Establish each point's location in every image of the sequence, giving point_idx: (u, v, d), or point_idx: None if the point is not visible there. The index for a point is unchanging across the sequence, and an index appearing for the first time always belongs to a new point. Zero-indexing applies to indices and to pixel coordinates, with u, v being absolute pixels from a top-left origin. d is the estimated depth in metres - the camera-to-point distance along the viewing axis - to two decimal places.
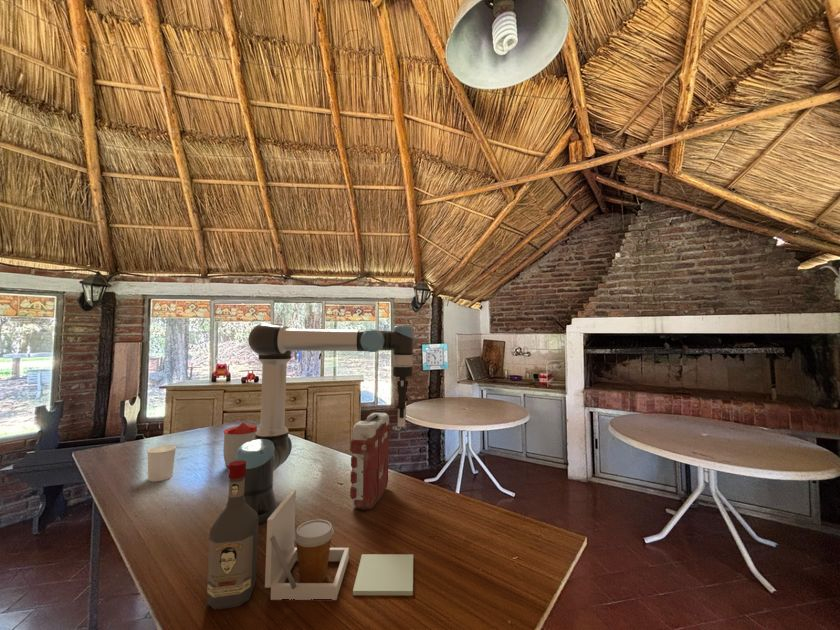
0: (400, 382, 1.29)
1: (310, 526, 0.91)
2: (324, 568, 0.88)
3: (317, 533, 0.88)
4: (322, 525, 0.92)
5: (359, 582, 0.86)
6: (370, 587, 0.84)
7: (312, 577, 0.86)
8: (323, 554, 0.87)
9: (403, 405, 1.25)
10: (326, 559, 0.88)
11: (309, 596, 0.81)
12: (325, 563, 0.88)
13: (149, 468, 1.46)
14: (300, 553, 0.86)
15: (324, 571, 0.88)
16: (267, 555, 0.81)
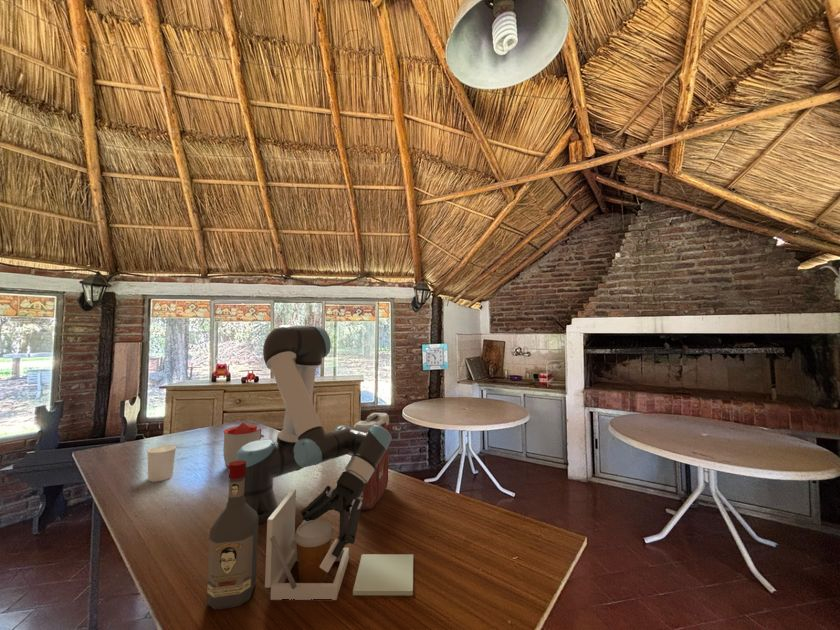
0: (359, 502, 0.92)
1: (310, 526, 0.91)
2: None
3: (317, 533, 0.88)
4: (322, 525, 0.92)
5: (359, 582, 0.86)
6: (370, 587, 0.84)
7: (312, 577, 0.86)
8: (323, 554, 0.87)
9: (353, 539, 0.86)
10: None
11: (309, 596, 0.81)
12: None
13: (149, 468, 1.46)
14: (300, 553, 0.86)
15: (324, 571, 0.88)
16: (267, 555, 0.81)
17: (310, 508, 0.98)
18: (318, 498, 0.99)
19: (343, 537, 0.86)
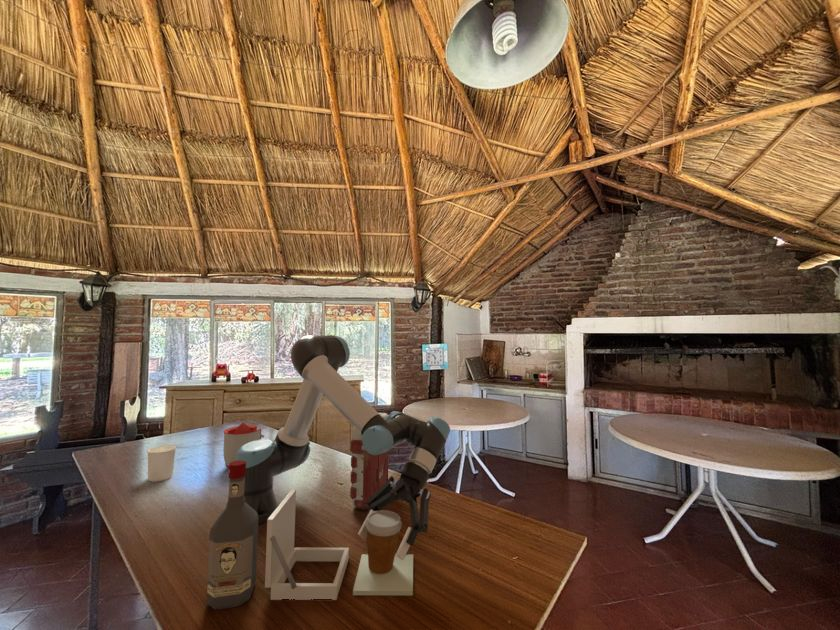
0: (427, 492, 0.93)
1: (379, 516, 0.94)
2: (393, 557, 0.91)
3: (388, 523, 0.91)
4: (389, 515, 0.94)
5: (359, 582, 0.86)
6: (370, 587, 0.84)
7: (383, 565, 0.89)
8: (393, 544, 0.90)
9: (426, 528, 0.88)
10: (395, 549, 0.91)
11: (309, 596, 0.81)
12: (394, 552, 0.91)
13: (149, 468, 1.46)
14: (372, 541, 0.89)
15: (393, 560, 0.91)
16: (267, 555, 0.81)
17: (375, 498, 0.99)
18: (383, 488, 1.00)
19: (416, 526, 0.87)
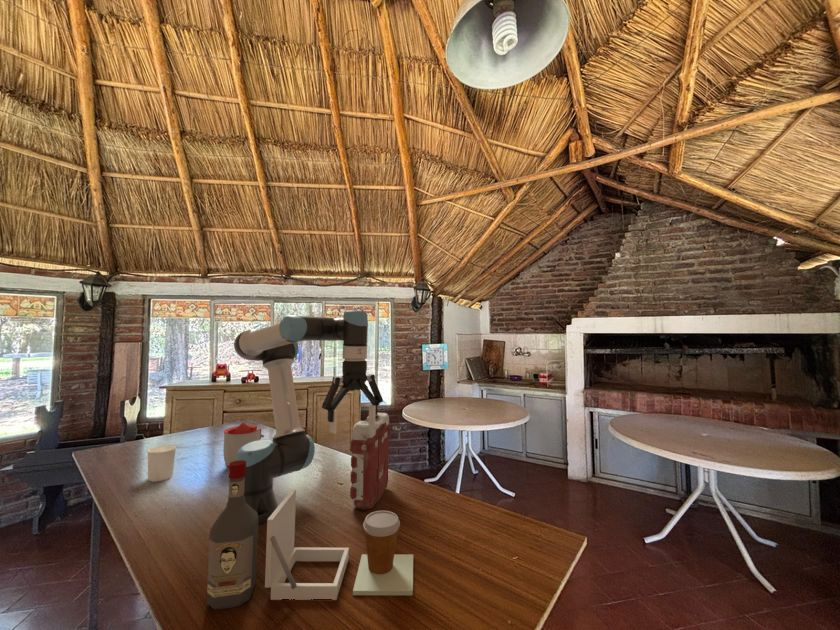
0: (333, 378, 1.07)
1: (376, 517, 0.94)
2: (392, 557, 0.91)
3: (386, 523, 0.91)
4: (387, 516, 0.94)
5: (359, 582, 0.86)
6: (370, 587, 0.84)
7: (383, 565, 0.89)
8: (392, 544, 0.90)
9: (325, 406, 1.03)
10: (394, 548, 0.91)
11: (309, 596, 0.81)
12: (393, 552, 0.91)
13: (149, 468, 1.46)
14: (371, 542, 0.89)
15: (392, 560, 0.91)
16: (267, 555, 0.81)
17: (374, 395, 1.16)
18: None
19: None
